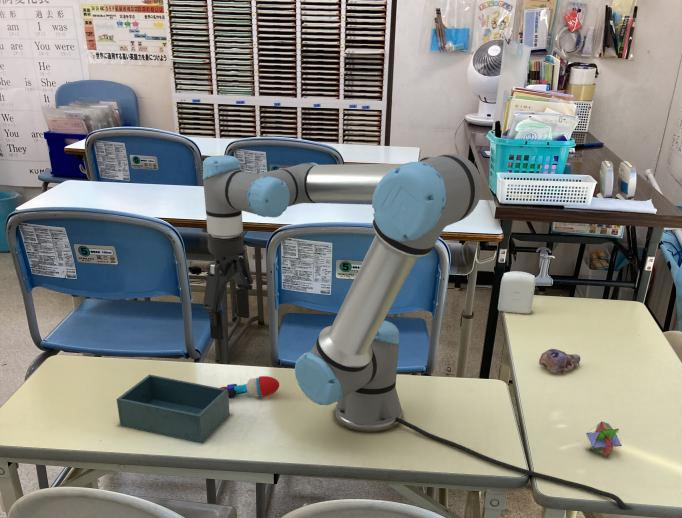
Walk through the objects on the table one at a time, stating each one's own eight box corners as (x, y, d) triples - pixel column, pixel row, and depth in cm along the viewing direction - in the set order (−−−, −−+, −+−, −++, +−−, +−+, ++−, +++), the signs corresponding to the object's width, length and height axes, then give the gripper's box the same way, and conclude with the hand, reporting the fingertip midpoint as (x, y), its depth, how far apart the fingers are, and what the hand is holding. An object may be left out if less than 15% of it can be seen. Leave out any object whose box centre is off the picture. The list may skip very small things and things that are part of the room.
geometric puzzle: (629, 454, 162) (625, 417, 162) (600, 457, 160) (595, 420, 161) (612, 458, 169) (607, 422, 169) (583, 460, 168) (579, 424, 168)
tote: (229, 415, 176) (228, 389, 172) (201, 443, 165) (199, 416, 162) (152, 399, 181) (149, 374, 178) (120, 425, 171) (116, 399, 167)
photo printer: (496, 311, 236) (502, 272, 229) (497, 306, 239) (503, 268, 233) (530, 315, 234) (537, 276, 227) (531, 310, 238) (537, 271, 231)
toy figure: (218, 408, 182) (280, 399, 181) (213, 389, 179) (276, 379, 179) (221, 396, 188) (281, 387, 188) (217, 377, 186) (278, 368, 185)
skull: (572, 358, 207) (577, 338, 203) (587, 373, 201) (592, 354, 197) (532, 364, 204) (536, 345, 200) (546, 380, 198) (551, 360, 194)
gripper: (234, 217, 174) (239, 306, 185) (180, 247, 154) (189, 345, 165) (264, 221, 172) (267, 311, 183) (214, 252, 152) (221, 350, 163)
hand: (230, 327), depth 174 cm, fingers open, 13 cm apart
